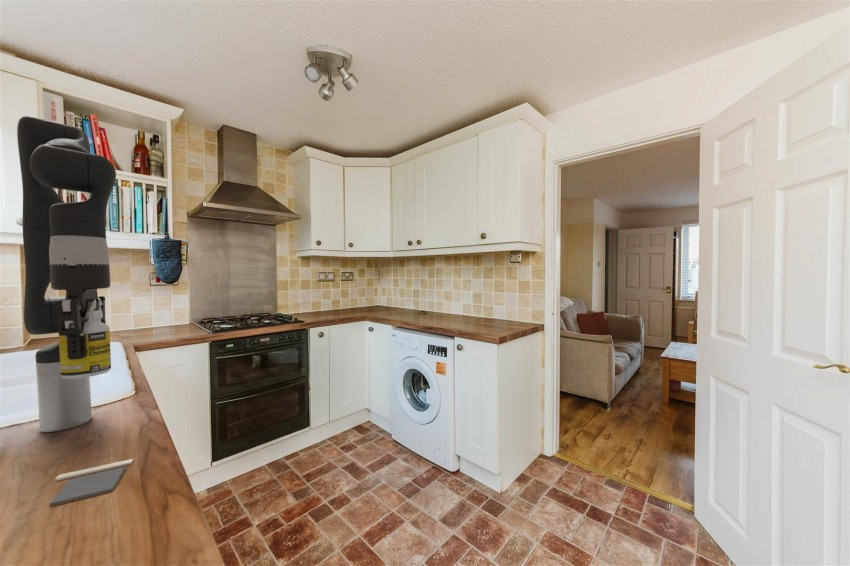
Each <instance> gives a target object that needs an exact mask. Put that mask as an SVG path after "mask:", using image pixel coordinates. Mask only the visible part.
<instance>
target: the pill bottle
mask: <svg viewBox="0 0 850 566" xmlns="http://www.w3.org/2000/svg"><path fill="white" fill-rule="evenodd" d="M101 317H102V310H93V316H92V322H91V324H89V325H88V326H87V331H86V345H87V356H86V357H85V358H82V359H74V360H70V359H68V351H67V338H64V336H59V335H58V342H59V351H60V368H61V376H62V377H63V378H66V379H78V378H86V377H90V378H91V377H95V376H99V375H102V374H105V373H108V372H110V371H111V369H112V357H111V354H112V353H111V335H110V332H111V331H110V327H109V325H108V324H105V323H102V322H101V320H100V318H101ZM72 328H75V326H72ZM83 337H85V336H83Z"/></svg>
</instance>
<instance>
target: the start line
mask: <svg viewBox="0 0 850 566" xmlns="http://www.w3.org/2000/svg"><path fill="white" fill-rule="evenodd" d="M133 462H134V458H129V459H126V460H121V461H115V462H112V463H108V464H102V465H98V466H94V467H93V466H92V467H88V468H84V469H80V470H75V471H71V472H67V473H66V472H65V473H61V474H59V475H58V476H56V478H54V479H55V482H57V481H62V480H67V479H73V478H77V477H81V476H83V475H84V476H86V475H90V474H92V473H93V474H95V473H99V472H104V471H108V470H113V469H117V468H122V467H126V466H129V465H132V464H133Z"/></svg>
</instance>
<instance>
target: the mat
mask: <svg viewBox="0 0 850 566" xmlns="http://www.w3.org/2000/svg"><path fill="white" fill-rule="evenodd" d="M125 470H126V466H121V467H117V468H113V469H108V470H104V471H99V472H95V473H93V474H92V473H90V474H86V475H84V476H83V475H81V476H77V477H72V478H69V480H68V481H66V483H65V484H64V486H63V487H62V488H61V489H60V491H58V492H57V494H56V495H55V496H54V498H53V499H52V500H51V501H50V502H49V507H53V506H58V505H60V504H66V503H70V502H73V501H77V500H81V499H85V498H89V497H93V496H97V495H98V496H99V495H101V494H106V493H110V492H113V491H114V490H115V489H116V486H117V485H118V482H119V481H120V479H121V477H122V476H123V474H124V473H125Z"/></svg>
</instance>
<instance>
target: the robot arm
mask: <svg viewBox="0 0 850 566" xmlns="http://www.w3.org/2000/svg"><path fill="white" fill-rule="evenodd" d="M16 125H17V126H16V136H17V137H16V138H17V139H16V140H17V148H18V157H19V165H20V174H21V183H22V241H23V242H22V243H23V251H24V265H25V280H24V281H25V284H24V286H25V287H24V303H23V304H24V305H23V322H24V328H25V330H26V332H28V334H30V335H32V336H33V335H34V336H35V335H36V336H37V335H49V334H58V337H59V336H64V338H67V351H68V359H70V360H74V359H82V358H85V357H86V356H87V345H86V331H87V326H88V325H89V324H91V322H92V316H93V310H102V317H101V318H100V320H101V322H102V323H105V324H106V323H107V322H106V296H105V295H99V294H98V289H99V290H101V289H102V290H103V289H108V288H110V287H111V272H110V271H111V267H110V253H109V252H110V251H109V247H108V241H107V232H106V231H107V229H106V216H107V215H106V214H107V208H108V203H109V199H110V196H111V194H112V191H113V189H114V185H115V182H116V179H117V171H116V169H115V166H114V164H113V162H111V160H110V159H108V158H106V157H104V156H103V155H101V154H100V155H99V154H94V153H91V146H90V145H91V144H90V140H89V137H88V136H87V134H86V132H84V131H83V130H81V129H80V128H78V127H76V126H72V125H69V124H64V123H61V122H55V121H51V120H49V119H48V120H47V119H42V118H38V117H34V116H29V115H23V116H21V117H19V120H18V122H17V124H16ZM55 189H57V190H64V191H73V192H82V193H88V194H90V195H89V197H88V198H87V199H86V200H81V201H74V202H70V201H69V202H66V201H64V200H63V199H62V197H61V196H60V195H59V194H58V193H57V192H56V190H55ZM49 286H50V287H51V289H52V290H53V291H65V295H62V296H47V297H45V295H46V292H47V290H48V288H49ZM72 326H75V328H72ZM83 336H85V337H83ZM35 368H36V369H35V370H36V385H37V386H36V387H37V402H38V423H39V431H40V432H41V433H52V432H60V431H65V430H69V429H73V428H76V427H78V426H81V425H83V424H86V423H88V422H90V421H91V420H92V416H93V415H92V397H91V381H90V378H91V377H86V378H78V379H66V378H63V377H62V376H61V368H60V351H59V341H58V342H56V343H53V344H51V345H48V346H45V347H42V348H40V349H38V350H37V351H36V353H35ZM90 419H91V420H90ZM89 420H90V421H89Z"/></svg>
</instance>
